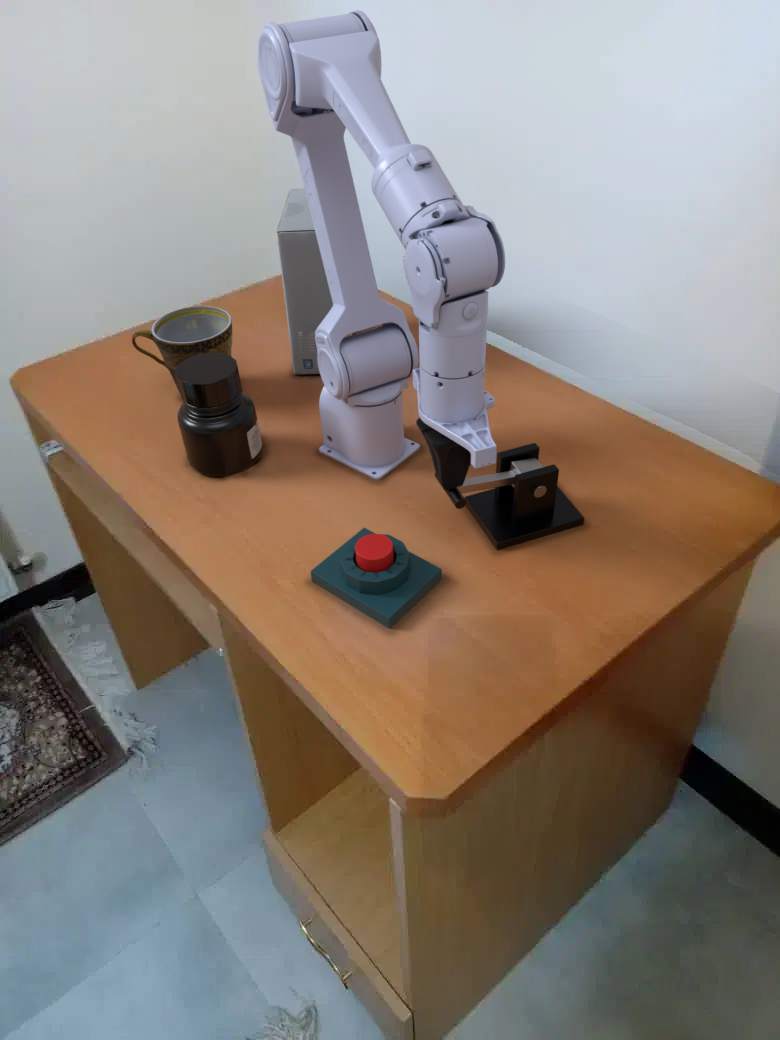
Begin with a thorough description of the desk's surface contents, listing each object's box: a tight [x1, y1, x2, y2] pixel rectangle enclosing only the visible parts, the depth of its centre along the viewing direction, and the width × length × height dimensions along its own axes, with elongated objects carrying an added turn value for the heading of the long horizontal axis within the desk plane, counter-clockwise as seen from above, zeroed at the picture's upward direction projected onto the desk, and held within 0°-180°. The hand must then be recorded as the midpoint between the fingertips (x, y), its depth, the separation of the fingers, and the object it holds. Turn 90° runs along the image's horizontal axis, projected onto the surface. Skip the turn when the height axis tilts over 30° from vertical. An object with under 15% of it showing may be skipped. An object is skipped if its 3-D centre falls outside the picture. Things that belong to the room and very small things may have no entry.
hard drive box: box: [276, 188, 353, 376], centre depth 106 cm, size 16×8×20 cm, turn 179°
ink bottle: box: [175, 353, 263, 477], centre depth 91 cm, size 10×9×12 cm
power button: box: [355, 533, 394, 573], centre depth 75 cm, size 4×4×2 cm
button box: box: [310, 527, 443, 630], centre depth 77 cm, size 10×8×4 cm
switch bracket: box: [464, 442, 585, 551], centre depth 82 cm, size 10×8×7 cm
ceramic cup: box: [131, 305, 233, 396], centre depth 102 cm, size 13×10×10 cm
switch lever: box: [434, 458, 544, 510], centre depth 79 cm, size 10×5×2 cm, turn 110°
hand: (451, 483), depth 78 cm, fingers closed, pressing on switch lever
